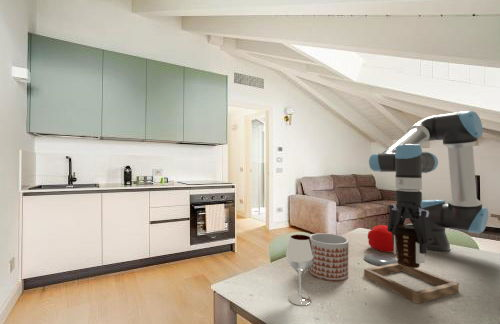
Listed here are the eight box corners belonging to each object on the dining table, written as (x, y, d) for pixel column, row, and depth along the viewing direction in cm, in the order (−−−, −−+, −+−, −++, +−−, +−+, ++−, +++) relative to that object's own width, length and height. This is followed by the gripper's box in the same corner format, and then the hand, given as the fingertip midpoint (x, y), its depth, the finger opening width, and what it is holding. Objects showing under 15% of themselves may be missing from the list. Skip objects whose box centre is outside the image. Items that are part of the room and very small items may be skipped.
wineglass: (319, 299, 71) (319, 237, 72) (305, 311, 65) (306, 243, 66) (295, 289, 77) (295, 232, 77) (280, 300, 71) (280, 237, 71)
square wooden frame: (401, 268, 94) (401, 262, 94) (458, 292, 77) (458, 284, 77) (364, 276, 87) (364, 268, 87) (417, 303, 70) (417, 294, 70)
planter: (301, 271, 90) (301, 237, 91) (322, 262, 99) (322, 231, 99) (334, 285, 80) (335, 246, 80) (355, 274, 89) (355, 239, 89)
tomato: (400, 259, 112) (370, 252, 122) (405, 234, 117) (376, 229, 127) (391, 249, 105) (360, 242, 116) (396, 222, 110) (366, 217, 121)
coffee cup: (419, 261, 85) (419, 224, 85) (428, 271, 77) (428, 230, 77) (391, 258, 87) (390, 222, 88) (397, 267, 80) (397, 227, 80)
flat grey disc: (379, 253, 111) (379, 252, 111) (407, 264, 98) (407, 263, 98) (357, 257, 106) (357, 255, 106) (383, 269, 94) (383, 267, 94)
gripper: (375, 187, 92) (375, 249, 91) (429, 193, 72) (429, 272, 71) (392, 187, 94) (392, 247, 93) (448, 193, 74) (448, 269, 73)
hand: (408, 258), depth 82 cm, fingers closed on coffee cup, 8 cm apart
